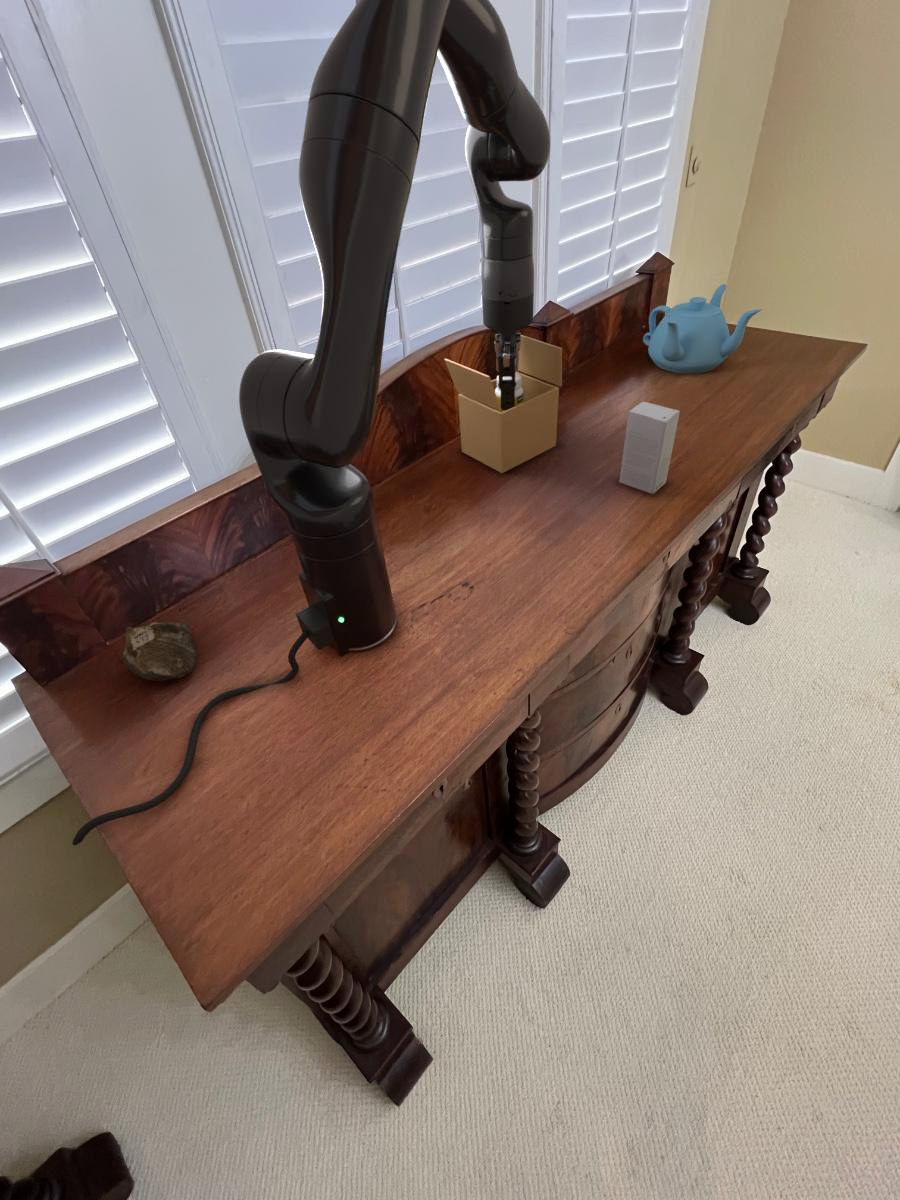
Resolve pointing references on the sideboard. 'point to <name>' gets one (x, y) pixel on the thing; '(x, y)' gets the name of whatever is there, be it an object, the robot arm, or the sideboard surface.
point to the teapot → (693, 335)
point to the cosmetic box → (648, 446)
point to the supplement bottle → (517, 390)
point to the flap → (473, 384)
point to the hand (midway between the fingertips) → (508, 401)
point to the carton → (516, 413)
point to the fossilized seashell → (160, 651)
